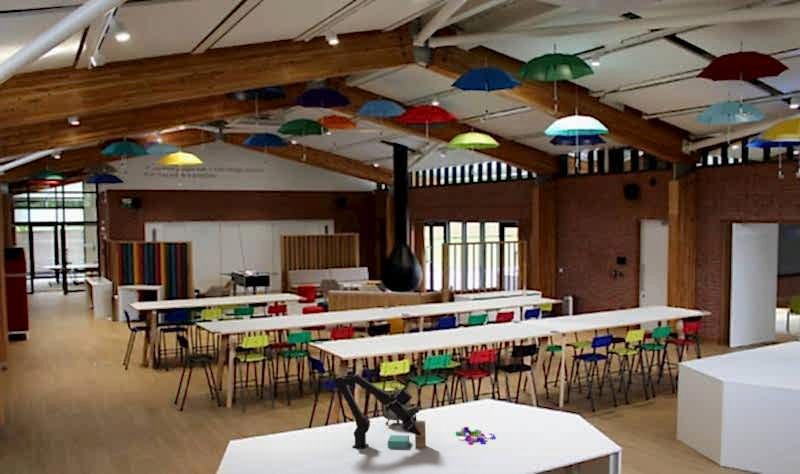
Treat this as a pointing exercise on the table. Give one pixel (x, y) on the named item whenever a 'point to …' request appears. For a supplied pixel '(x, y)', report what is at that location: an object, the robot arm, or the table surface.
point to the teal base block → (398, 441)
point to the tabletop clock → (389, 413)
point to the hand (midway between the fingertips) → (420, 432)
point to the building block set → (470, 438)
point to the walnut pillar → (420, 440)
